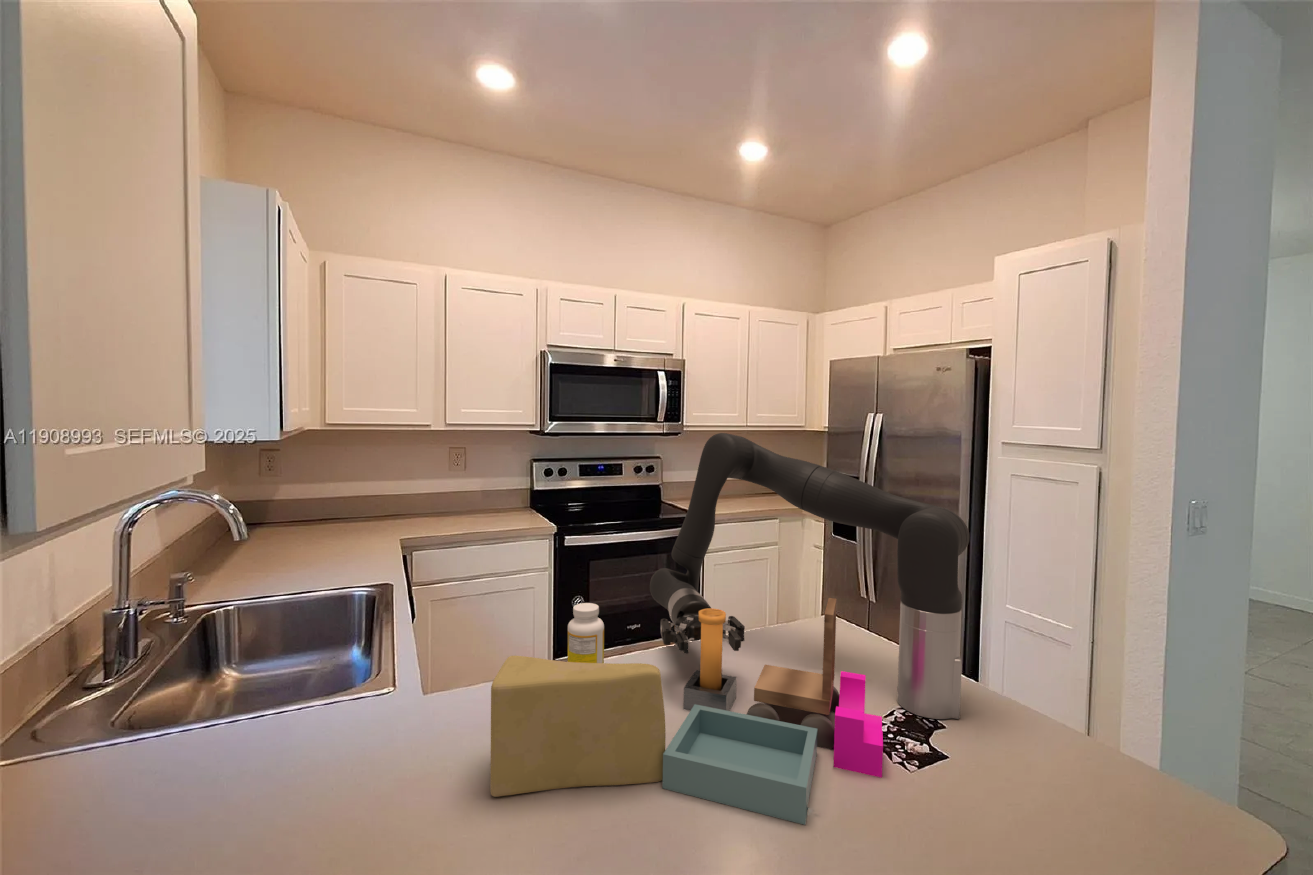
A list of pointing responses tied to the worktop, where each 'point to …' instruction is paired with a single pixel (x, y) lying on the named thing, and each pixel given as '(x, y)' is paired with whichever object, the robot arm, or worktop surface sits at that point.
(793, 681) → the trolley
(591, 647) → the supplement bottle
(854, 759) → the toy block
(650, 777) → the cheese
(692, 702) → the pin socket
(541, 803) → the worktop surface
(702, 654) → the pin
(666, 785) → the tray
